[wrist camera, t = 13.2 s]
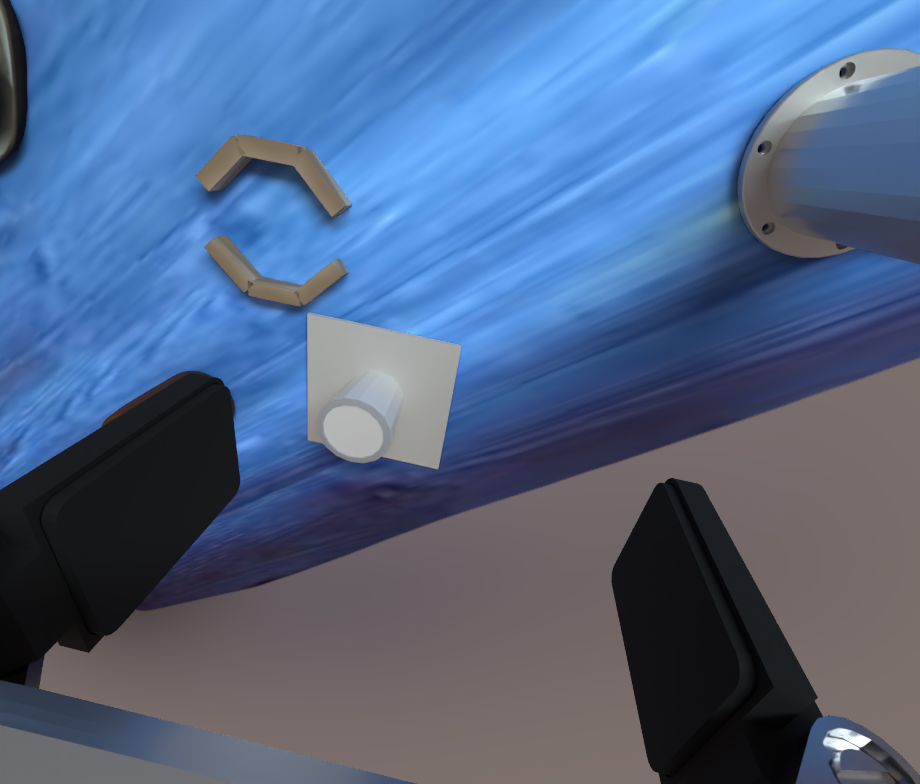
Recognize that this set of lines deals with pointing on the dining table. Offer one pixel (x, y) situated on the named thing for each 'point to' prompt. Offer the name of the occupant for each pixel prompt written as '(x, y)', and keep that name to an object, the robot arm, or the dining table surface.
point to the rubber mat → (396, 354)
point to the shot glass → (362, 418)
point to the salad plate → (11, 81)
